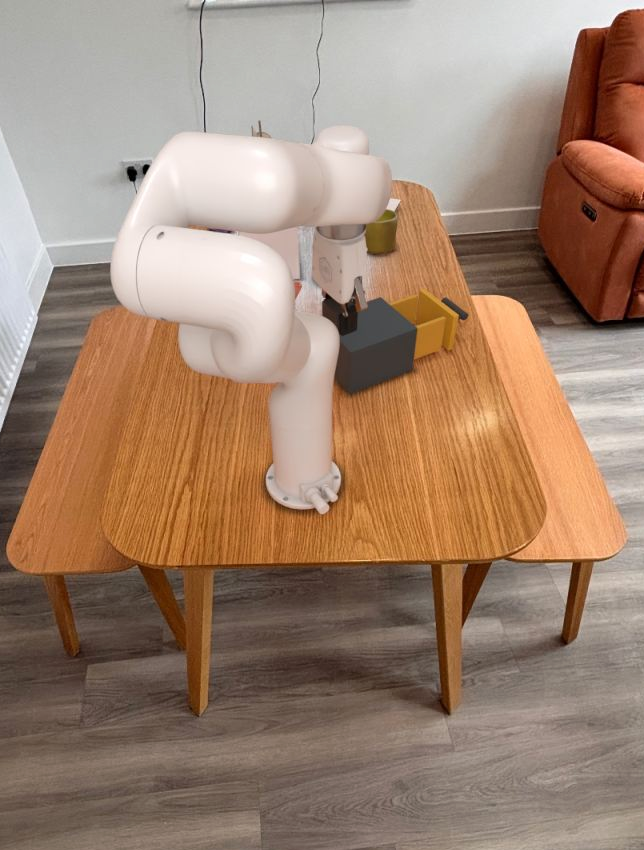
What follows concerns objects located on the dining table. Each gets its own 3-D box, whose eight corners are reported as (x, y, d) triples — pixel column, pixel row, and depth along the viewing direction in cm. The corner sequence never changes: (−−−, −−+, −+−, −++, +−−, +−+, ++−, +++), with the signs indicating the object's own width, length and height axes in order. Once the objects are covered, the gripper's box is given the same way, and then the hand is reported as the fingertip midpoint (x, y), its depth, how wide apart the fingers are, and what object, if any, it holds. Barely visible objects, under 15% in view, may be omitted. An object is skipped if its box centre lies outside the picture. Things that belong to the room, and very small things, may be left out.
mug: (402, 253, 153) (392, 209, 147) (360, 263, 156) (350, 221, 151) (406, 238, 162) (398, 197, 157) (367, 248, 166) (358, 208, 160)
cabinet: (377, 338, 134) (380, 296, 126) (412, 370, 126) (417, 328, 119) (317, 360, 129) (316, 318, 122) (349, 394, 122) (351, 352, 115)
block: (357, 328, 109) (358, 305, 106) (335, 336, 108) (335, 314, 105) (343, 315, 112) (343, 292, 108) (322, 323, 111) (321, 301, 107)
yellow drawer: (437, 315, 137) (442, 281, 131) (471, 342, 130) (478, 308, 125) (366, 340, 132) (368, 307, 126) (397, 370, 125) (400, 336, 119)
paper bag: (242, 238, 164) (229, 116, 142) (293, 234, 164) (288, 112, 143) (243, 284, 149) (229, 155, 128) (300, 280, 150) (295, 151, 128)
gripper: (291, 205, 99) (297, 308, 114) (350, 253, 90) (348, 358, 104) (332, 192, 101) (333, 294, 116) (394, 238, 92) (386, 343, 106)
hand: (340, 324), depth 110 cm, fingers closed on block, 4 cm apart
